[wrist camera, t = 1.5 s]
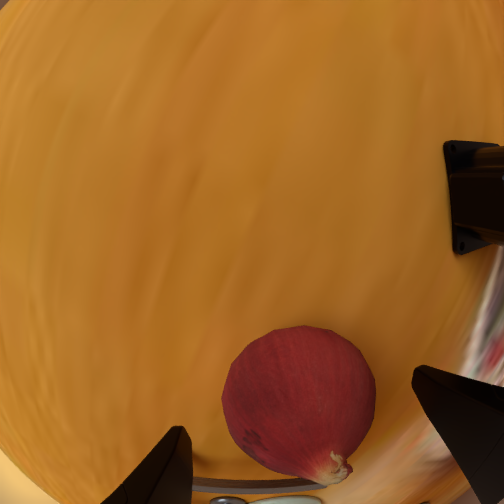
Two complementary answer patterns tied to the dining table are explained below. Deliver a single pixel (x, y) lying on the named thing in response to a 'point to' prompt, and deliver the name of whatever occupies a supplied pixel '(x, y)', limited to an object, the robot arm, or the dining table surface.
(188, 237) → the dining table surface
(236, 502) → the rail
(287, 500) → the coaster
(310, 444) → the onion
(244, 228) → the dining table surface
